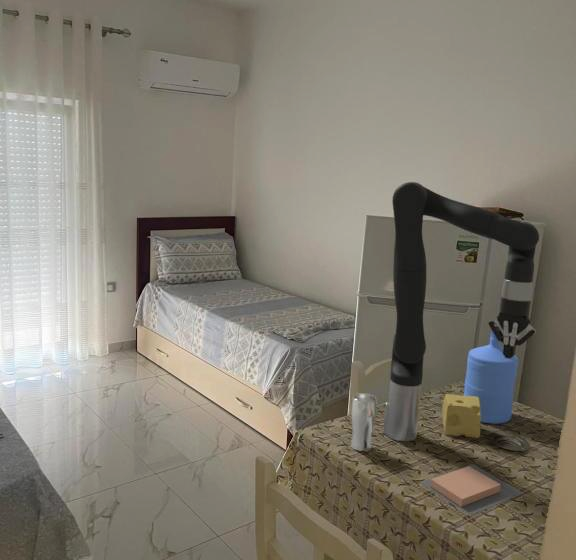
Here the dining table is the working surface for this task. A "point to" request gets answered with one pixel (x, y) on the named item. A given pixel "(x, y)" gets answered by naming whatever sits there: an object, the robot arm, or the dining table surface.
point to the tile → (465, 486)
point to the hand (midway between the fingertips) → (508, 357)
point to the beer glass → (362, 420)
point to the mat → (503, 495)
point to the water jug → (491, 381)
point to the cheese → (461, 415)
